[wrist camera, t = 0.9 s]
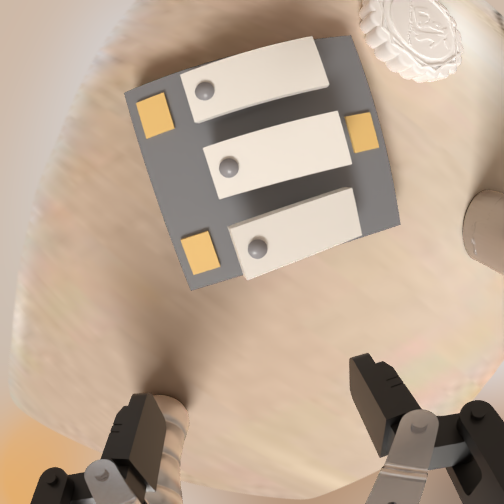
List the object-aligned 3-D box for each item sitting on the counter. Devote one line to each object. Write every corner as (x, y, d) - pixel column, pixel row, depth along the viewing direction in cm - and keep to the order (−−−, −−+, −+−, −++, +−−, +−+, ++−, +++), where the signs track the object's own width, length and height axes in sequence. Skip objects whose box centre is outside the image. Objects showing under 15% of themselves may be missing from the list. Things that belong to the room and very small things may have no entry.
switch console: (339, 45, 24) (356, 29, 20) (386, 218, 30) (408, 228, 25) (134, 98, 25) (118, 89, 20) (194, 278, 30) (189, 298, 26)
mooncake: (446, 99, 27) (465, 96, 23) (352, 59, 25) (367, 49, 22) (448, 17, 23) (464, 9, 20) (361, -25, 22) (373, -39, 18)
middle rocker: (334, 112, 21) (338, 110, 20) (348, 163, 22) (352, 164, 21) (206, 147, 23) (202, 147, 21) (221, 196, 24) (218, 200, 23)
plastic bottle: (129, 392, 34) (88, 531, 15) (177, 382, 34) (155, 537, 14) (153, 426, 36) (131, 555, 16) (199, 417, 35) (193, 558, 16)
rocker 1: (310, 40, 19) (312, 35, 18) (327, 87, 20) (329, 84, 19) (184, 77, 21) (179, 74, 20) (198, 123, 22) (194, 122, 21)
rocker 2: (344, 186, 24) (353, 187, 23) (354, 232, 26) (363, 235, 24) (227, 226, 23) (230, 229, 22) (243, 275, 24) (247, 281, 23)
